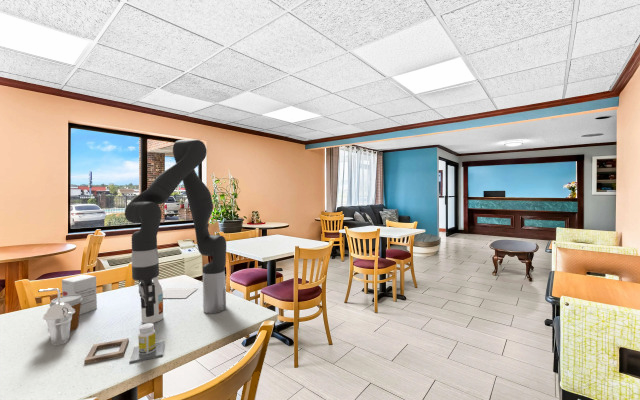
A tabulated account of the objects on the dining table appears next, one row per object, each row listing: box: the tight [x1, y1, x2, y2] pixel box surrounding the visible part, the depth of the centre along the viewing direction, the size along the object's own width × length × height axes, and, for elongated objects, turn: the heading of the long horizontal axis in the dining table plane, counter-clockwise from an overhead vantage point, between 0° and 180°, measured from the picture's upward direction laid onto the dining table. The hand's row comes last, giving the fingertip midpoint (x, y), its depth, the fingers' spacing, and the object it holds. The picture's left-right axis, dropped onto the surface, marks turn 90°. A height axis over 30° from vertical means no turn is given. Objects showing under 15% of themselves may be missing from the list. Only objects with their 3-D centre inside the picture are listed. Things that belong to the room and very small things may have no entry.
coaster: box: [129, 341, 165, 364], centre depth 95 cm, size 9×9×1 cm
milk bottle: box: [140, 275, 164, 324], centre depth 119 cm, size 8×8×20 cm
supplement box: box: [61, 274, 98, 316], centre depth 128 cm, size 9×9×15 cm
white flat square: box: [162, 287, 198, 299], centre depth 145 cm, size 23×25×1 cm
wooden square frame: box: [83, 337, 130, 365], centre depth 96 cm, size 10×10×1 cm
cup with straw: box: [38, 287, 75, 346], centre depth 102 cm, size 8×9×20 cm
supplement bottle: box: [137, 323, 157, 355], centre depth 95 cm, size 5×5×8 cm
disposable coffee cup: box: [49, 294, 82, 332], centre depth 111 cm, size 10×10×12 cm
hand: (147, 311), depth 95 cm, fingers open, 8 cm apart
